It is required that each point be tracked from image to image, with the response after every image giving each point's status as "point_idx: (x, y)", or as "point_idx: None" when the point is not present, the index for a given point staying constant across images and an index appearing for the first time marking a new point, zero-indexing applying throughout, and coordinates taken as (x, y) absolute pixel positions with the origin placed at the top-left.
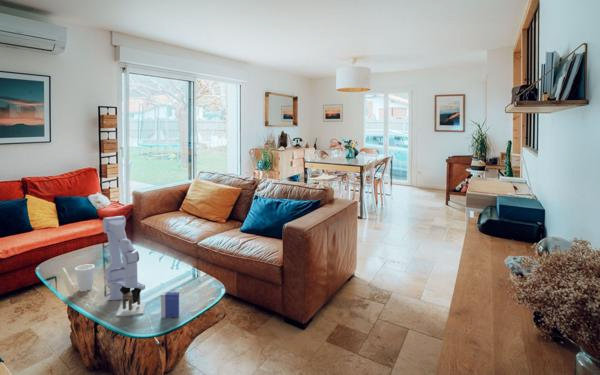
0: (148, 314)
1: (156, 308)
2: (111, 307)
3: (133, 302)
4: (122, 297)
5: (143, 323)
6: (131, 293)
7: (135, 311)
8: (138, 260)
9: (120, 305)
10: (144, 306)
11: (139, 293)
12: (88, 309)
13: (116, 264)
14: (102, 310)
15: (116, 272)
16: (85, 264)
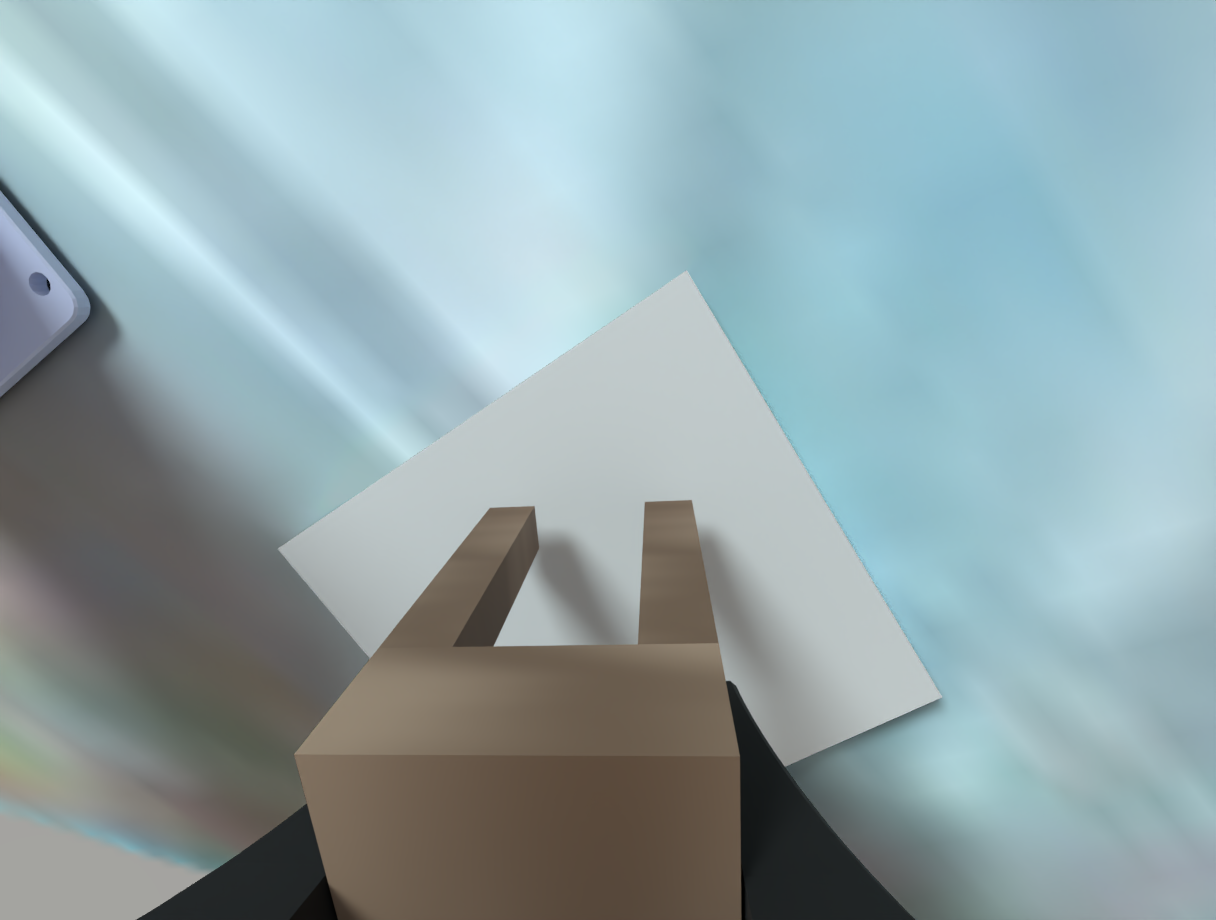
0: (1035, 651)
1: (1064, 398)
2: (221, 640)
3: (531, 547)
4: (12, 281)
5: (1122, 891)
6: None
7: (768, 699)
8: None
9: (319, 597)
10: (800, 482)
11: (869, 897)
12: (5, 780)
13: None
14: (199, 752)
15: None
16: None
